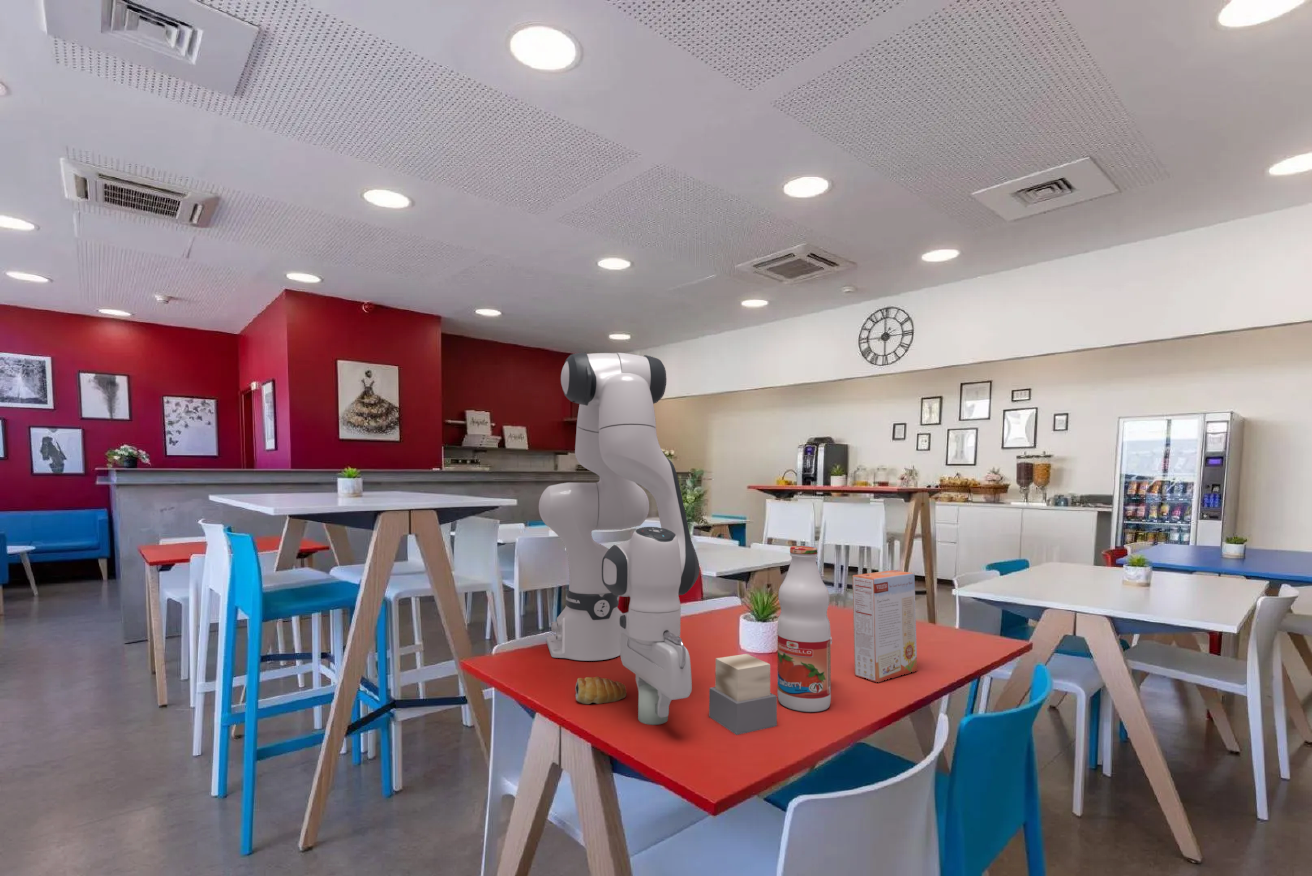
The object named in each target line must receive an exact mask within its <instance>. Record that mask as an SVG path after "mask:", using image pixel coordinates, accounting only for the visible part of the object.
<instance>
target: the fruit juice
mask: <svg viewBox="0 0 1312 876" xmlns="http://www.w3.org/2000/svg"><path fill="white" fill-rule="evenodd" d="M789 553H790V554H789V555H790V557H791V561H790V564H789V567H788V570H787V573H786V575H785V578H784V579H783V581H782V583H781V585H780V587H779V589H778V598H777V599H778V602H779V606H780V614H779V616H778V620H777V629H776V630H777V633H776V634H777V701H778V703H779V704H780V705H782V706H783V707H784V708H788V709H789V710H793V711H798V712H802V713H803V712H805V713H816V712H822V711H826V710H828V708H829V707H830V705H831V702H832V701H831V700H832V691H831V689H832V685H831V684H832V677H831V676H832V673H831V670H832V668H831V667H832V666H831V656H832V655H831V649H832V648H831V646H832V644H831V637H832V636H831V635H832V634H831V623H830V619H829V617H828V610H829V609H828V608H829V606H830V601H831V600H830V593H829V592H830V591H829V590H828V588H827V586H826V584H825V583H824V581H823V579H822V576H821V573H820V570H819V566H818V564H817V557H818V548H817V547H815V546H810V545H809V546H808V545H792V546H790V548H789Z"/></svg>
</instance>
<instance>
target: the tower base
mask: <svg viewBox="0 0 1312 876" xmlns="http://www.w3.org/2000/svg"><path fill="white" fill-rule="evenodd" d="M708 693H709V696H708V699H709V701H708V705H709V706H708V717H709V718H710V719H712V720H714V721H715V722H716V723H717V724H719V725H721V726H722V727H724V728H725V729H727V730H728V731H729V732H731V733H733V734H734V735H736V736H738V735H743V734H748V733H751V732H757V731H761V730H765V729H770V728H775V727H777V726H778V723H777V721H778V719H777V717H778V716H777V715H778V711H777V710H778V708H777V707H778V695H775V694H773V693H772V692H770V695H769V696H764V697H759V698H753V699H748V700H743V701H736V700H734V699H733V698H731V697H729V696H727V695H726V694H724V693H722V692H720V691H719V690H717V689H715V686H713V687H709V691H708Z"/></svg>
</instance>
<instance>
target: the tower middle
mask: <svg viewBox="0 0 1312 876" xmlns="http://www.w3.org/2000/svg"><path fill="white" fill-rule="evenodd" d="M714 675H715V677H714V679H715V682H714V685H715V686H714V687H715V689H717V690H719V691H720V692H722V693H724V694H726V695H727V696H729V697H731V698H733V699H734V700H736V701H743V700H748V699H753V698H759V697H764V696H769V695H770V693H771V664H770V663H768V662H767V661H764V660H761V659H759V658H758V657H754V656H752V655H750V654H749V653H742V654H738V655H730V656H723V657H715V673H714Z"/></svg>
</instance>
